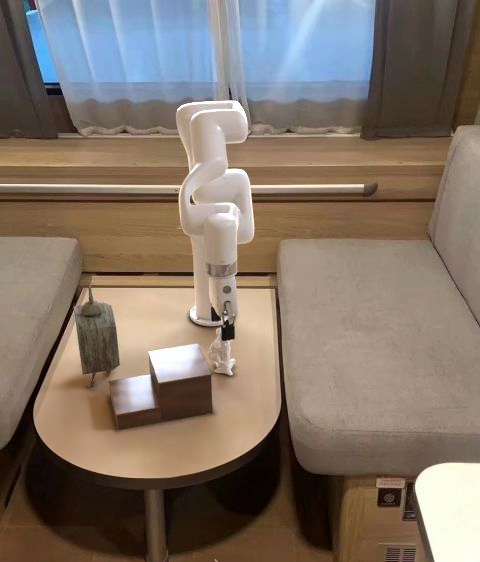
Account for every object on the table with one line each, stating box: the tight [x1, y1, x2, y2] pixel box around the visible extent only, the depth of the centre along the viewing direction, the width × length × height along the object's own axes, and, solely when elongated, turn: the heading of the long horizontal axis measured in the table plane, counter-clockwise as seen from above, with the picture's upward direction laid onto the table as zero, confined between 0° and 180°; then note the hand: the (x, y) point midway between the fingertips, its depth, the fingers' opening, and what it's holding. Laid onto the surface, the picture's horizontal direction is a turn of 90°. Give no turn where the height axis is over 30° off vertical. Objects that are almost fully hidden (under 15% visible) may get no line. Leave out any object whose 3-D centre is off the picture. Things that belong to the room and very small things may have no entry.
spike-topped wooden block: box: [73, 282, 121, 388], centre depth 184 cm, size 14×9×25 cm, turn 13°
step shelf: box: [108, 343, 214, 431], centre depth 175 cm, size 13×22×11 cm, turn 105°
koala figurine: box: [208, 327, 236, 376], centre depth 187 cm, size 8×7×12 cm
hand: (222, 329), depth 184 cm, fingers open, 9 cm apart
